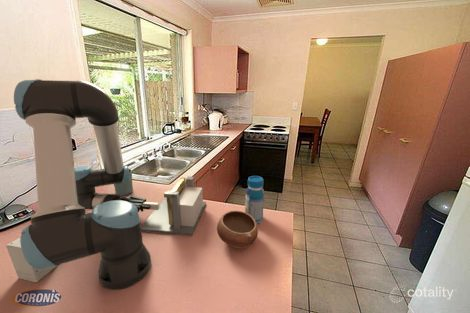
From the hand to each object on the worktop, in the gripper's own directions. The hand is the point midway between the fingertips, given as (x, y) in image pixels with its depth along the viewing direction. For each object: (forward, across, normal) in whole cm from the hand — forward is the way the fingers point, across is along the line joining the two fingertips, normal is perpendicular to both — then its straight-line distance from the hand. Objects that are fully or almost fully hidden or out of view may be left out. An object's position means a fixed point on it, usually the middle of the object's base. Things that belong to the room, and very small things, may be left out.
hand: (158, 206), depth 92 cm
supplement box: (-26, +31, -7) cm, 41 cm away
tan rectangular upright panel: (+7, -5, -5) cm, 10 cm away
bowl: (+35, +8, -7) cm, 37 cm away
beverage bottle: (+41, -7, -7) cm, 43 cm away
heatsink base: (+7, -4, -7) cm, 11 cm away
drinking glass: (-31, -22, -7) cm, 39 cm away
